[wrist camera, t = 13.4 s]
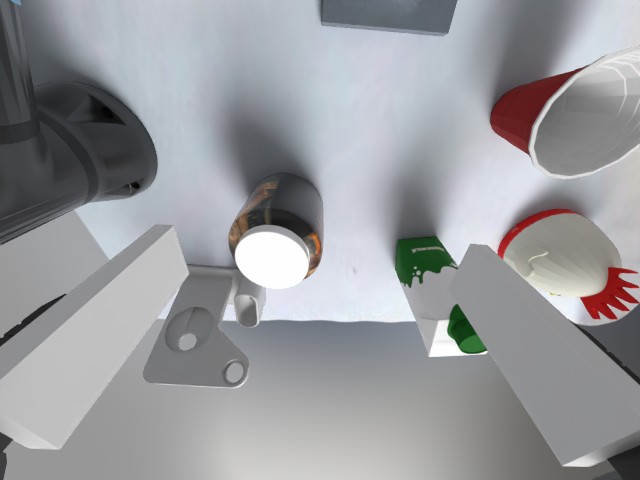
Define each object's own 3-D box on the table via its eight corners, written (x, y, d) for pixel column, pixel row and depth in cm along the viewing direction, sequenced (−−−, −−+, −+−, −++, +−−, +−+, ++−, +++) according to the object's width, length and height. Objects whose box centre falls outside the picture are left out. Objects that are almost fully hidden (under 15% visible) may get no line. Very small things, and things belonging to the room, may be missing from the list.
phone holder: (266, 271, 46) (239, 358, 31) (267, 305, 52) (245, 392, 36) (179, 264, 45) (107, 349, 30) (189, 299, 51) (133, 386, 36)
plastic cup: (462, 92, 29) (536, 91, 19) (559, 41, 27) (704, 9, 16) (473, 167, 34) (536, 198, 24) (555, 132, 32) (664, 150, 22)
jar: (326, 175, 35) (328, 220, 23) (320, 238, 42) (320, 301, 29) (250, 169, 35) (209, 212, 22) (256, 234, 41) (227, 296, 29)
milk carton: (442, 231, 41) (527, 328, 24) (434, 270, 45) (500, 373, 29) (392, 235, 41) (441, 333, 24) (390, 273, 46) (429, 376, 29)
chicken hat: (484, 270, 46) (546, 337, 33) (520, 207, 38) (619, 263, 25) (552, 272, 46) (640, 341, 33) (601, 210, 38) (738, 268, 26)
